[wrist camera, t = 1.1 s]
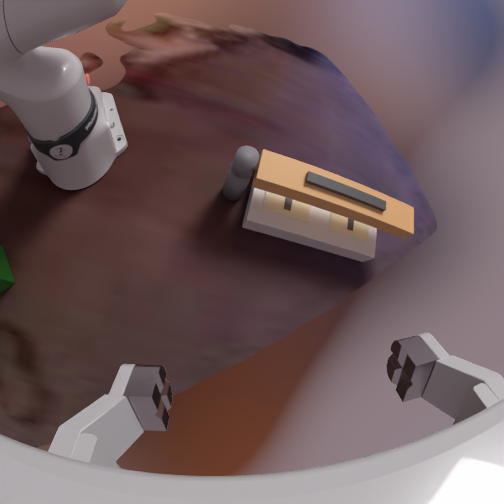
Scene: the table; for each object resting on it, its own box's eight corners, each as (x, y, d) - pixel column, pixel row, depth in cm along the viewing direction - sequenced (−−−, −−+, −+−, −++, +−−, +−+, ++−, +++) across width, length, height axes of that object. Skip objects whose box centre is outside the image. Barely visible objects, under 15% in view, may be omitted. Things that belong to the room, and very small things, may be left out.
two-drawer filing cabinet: (214, 219, 50) (220, 201, 42) (230, 160, 53) (239, 135, 45) (362, 262, 54) (388, 253, 47) (367, 206, 58) (390, 191, 50)
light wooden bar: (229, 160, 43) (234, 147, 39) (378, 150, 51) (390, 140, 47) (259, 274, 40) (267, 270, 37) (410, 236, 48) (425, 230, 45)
